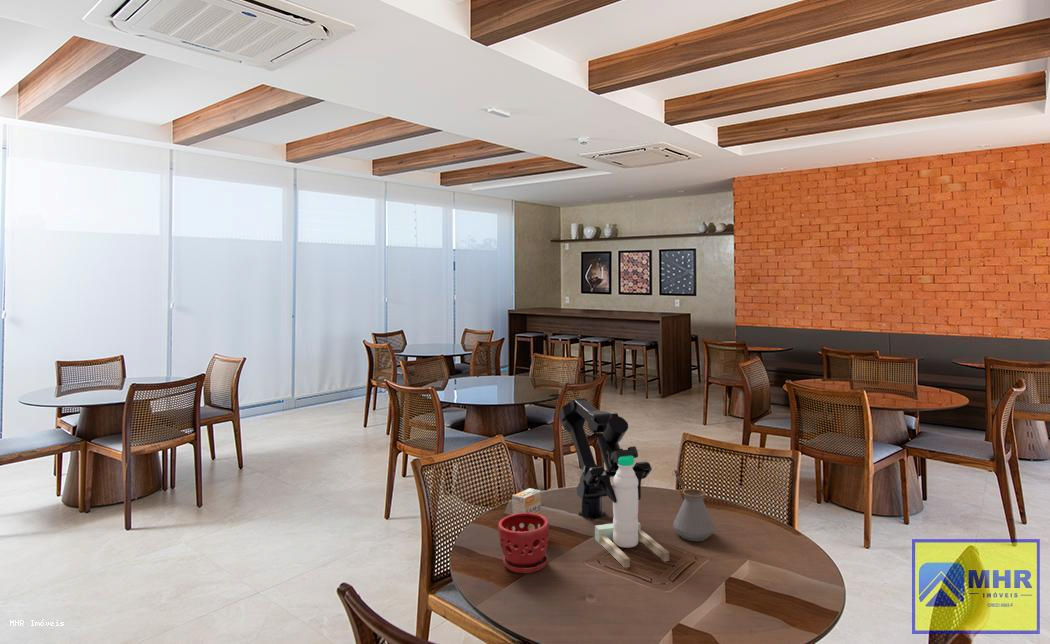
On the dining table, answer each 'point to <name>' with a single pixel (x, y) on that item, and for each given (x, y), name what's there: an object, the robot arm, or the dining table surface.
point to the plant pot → (524, 542)
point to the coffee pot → (693, 515)
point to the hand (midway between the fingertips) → (627, 500)
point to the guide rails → (642, 538)
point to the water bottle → (625, 504)
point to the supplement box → (527, 504)
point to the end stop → (606, 531)
